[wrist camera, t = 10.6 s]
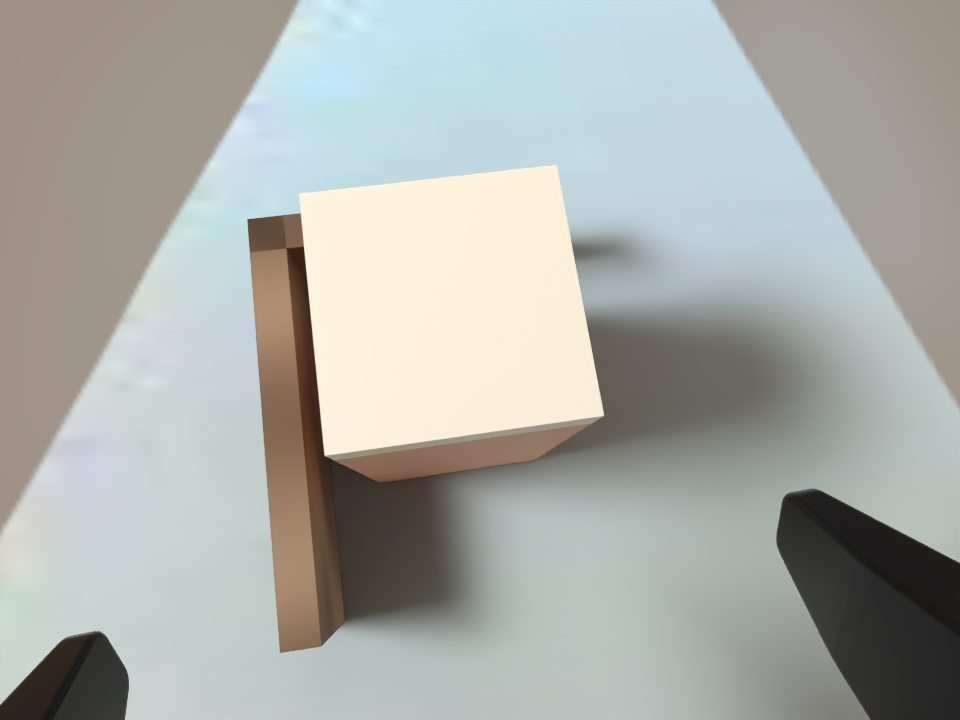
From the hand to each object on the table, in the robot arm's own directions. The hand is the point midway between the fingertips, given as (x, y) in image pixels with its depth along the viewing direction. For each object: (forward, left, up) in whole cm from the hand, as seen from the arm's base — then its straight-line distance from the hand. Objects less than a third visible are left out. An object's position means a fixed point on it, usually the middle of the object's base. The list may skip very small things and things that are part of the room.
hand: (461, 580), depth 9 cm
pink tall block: (+5, +1, -13) cm, 13 cm away
